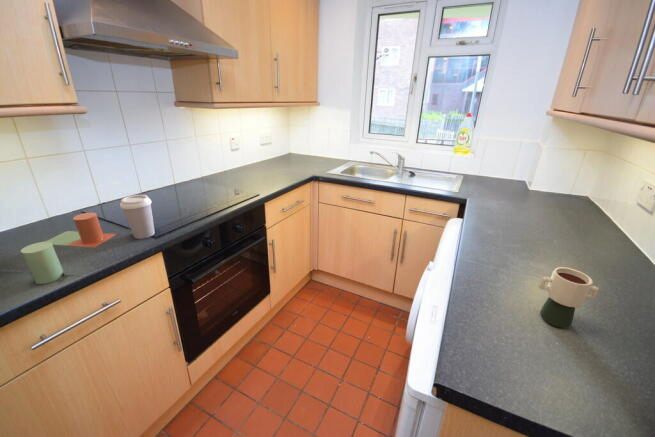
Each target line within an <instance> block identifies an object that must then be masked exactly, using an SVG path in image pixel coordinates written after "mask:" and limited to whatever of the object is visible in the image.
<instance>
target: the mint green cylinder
mask: <svg viewBox="0 0 655 437" xmlns="http://www.w3.org/2000/svg"><path fill="white" fill-rule="evenodd" d="M20 253H21V255H22V258H23V259H24V262H25V265H26V266H27V269H28V270H29V273H30V275H31V277H32V279H33V281H34V283H35V284H37V285H47V284H50V283H54V282H56V281H58V280H60V279H62V278H63V277H64V275H65V273H64V269H63V266H62V264H61V262H60V259H59V257H58V254H57V252H56V250H55V247H54V245H53V244H52V243H51V242H45V241H40V242H36V243H35V242H34V243H32V244H29V245H26V246H25V247H23V248H22V249H21V250H20Z"/></svg>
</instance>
